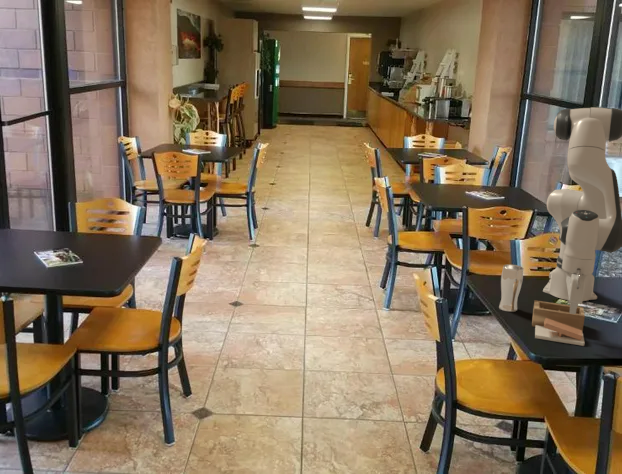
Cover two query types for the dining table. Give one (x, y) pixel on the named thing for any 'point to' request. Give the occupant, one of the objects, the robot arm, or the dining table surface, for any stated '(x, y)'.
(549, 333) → the mat
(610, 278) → the dining table surface
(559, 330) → the tile
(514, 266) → the beer glass
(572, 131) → the robot arm
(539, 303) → the pocket block
